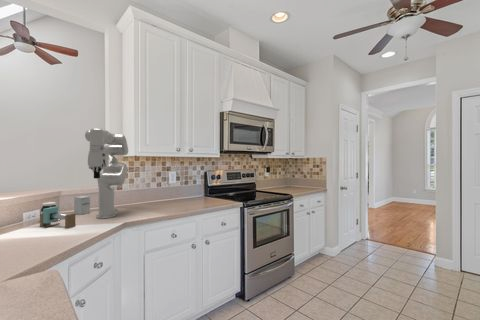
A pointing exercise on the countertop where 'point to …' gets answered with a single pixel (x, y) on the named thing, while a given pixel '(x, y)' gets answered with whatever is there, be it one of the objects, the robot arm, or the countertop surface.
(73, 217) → the brown wooden rack
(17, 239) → the countertop surface
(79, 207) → the supplement box
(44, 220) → the teal flat block
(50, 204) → the spread jar
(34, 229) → the countertop surface
